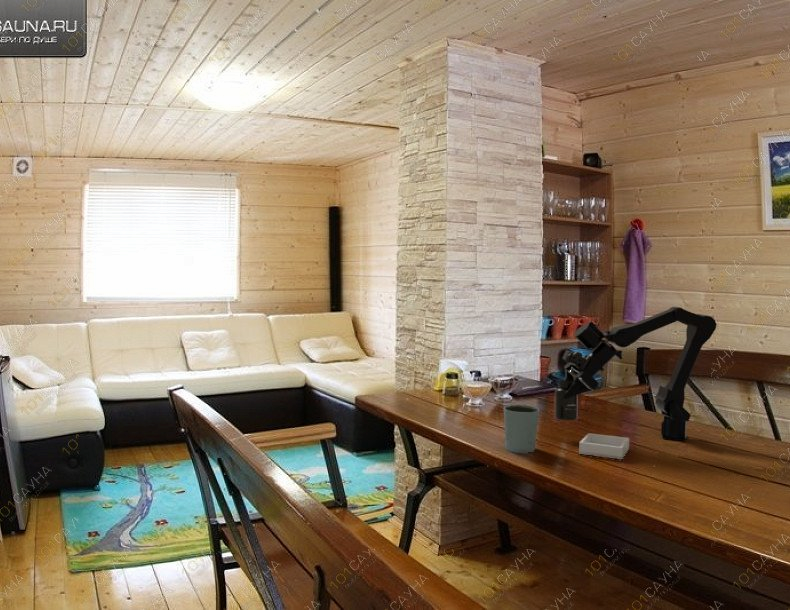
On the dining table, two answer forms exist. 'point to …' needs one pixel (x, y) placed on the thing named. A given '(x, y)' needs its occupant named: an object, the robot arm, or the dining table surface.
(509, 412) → the grey-green cup
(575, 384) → the robot arm
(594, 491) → the dining table surface
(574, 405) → the supplement bottle
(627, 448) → the tray
